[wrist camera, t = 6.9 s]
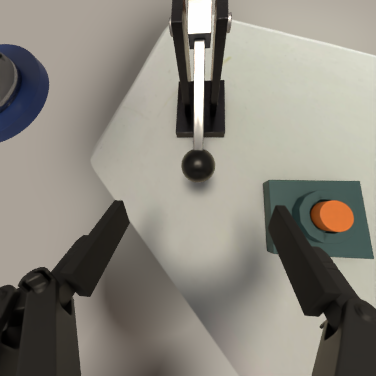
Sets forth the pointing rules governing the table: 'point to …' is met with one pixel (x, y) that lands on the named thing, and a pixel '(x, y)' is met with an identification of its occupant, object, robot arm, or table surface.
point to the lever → (199, 90)
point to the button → (332, 216)
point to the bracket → (212, 89)
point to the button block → (301, 212)
